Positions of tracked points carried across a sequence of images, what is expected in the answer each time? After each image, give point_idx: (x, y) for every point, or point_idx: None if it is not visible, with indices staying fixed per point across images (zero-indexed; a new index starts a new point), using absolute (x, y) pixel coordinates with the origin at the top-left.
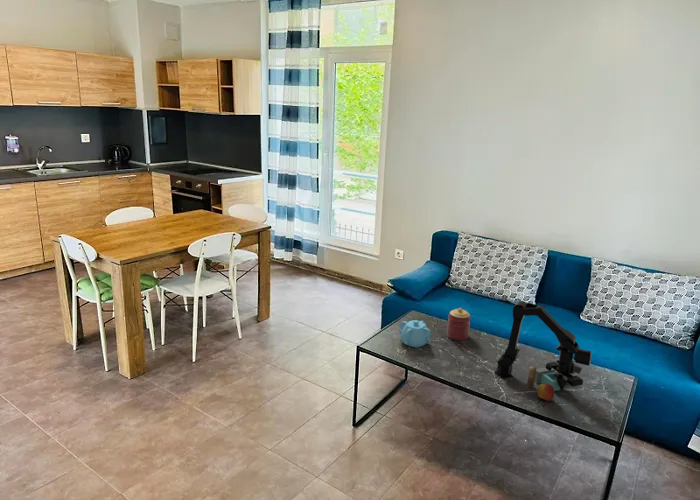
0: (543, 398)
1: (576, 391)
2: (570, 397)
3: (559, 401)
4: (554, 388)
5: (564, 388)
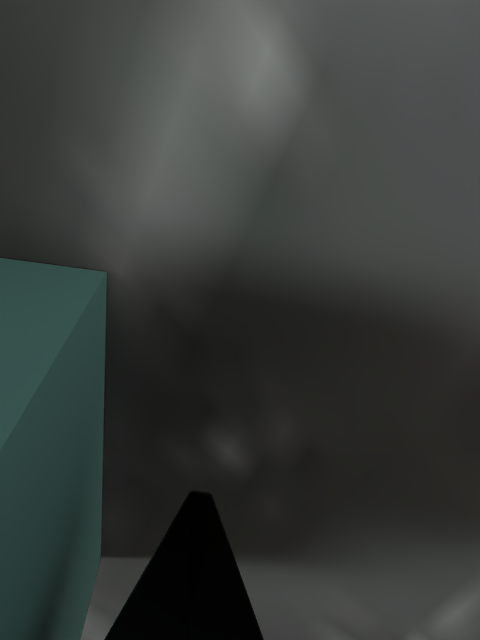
0: None
1: (356, 44)
2: (420, 427)
3: (374, 619)
4: (88, 568)
5: (103, 293)
